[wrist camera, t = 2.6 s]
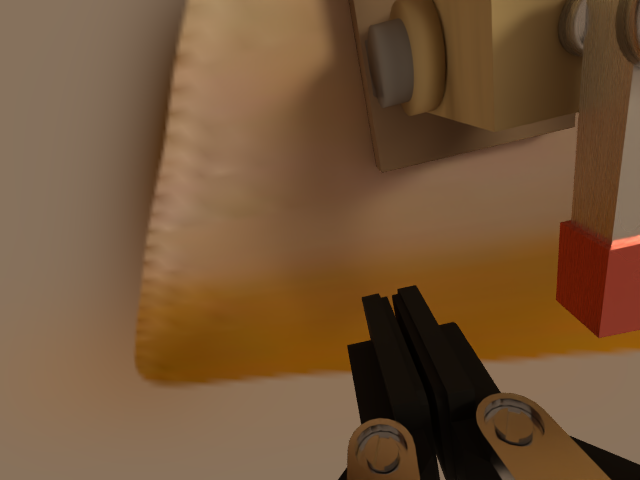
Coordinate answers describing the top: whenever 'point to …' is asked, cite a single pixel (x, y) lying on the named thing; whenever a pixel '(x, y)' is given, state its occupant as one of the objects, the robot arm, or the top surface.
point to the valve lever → (604, 169)
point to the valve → (461, 75)
